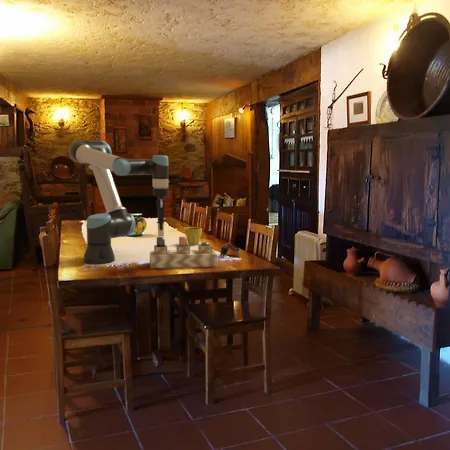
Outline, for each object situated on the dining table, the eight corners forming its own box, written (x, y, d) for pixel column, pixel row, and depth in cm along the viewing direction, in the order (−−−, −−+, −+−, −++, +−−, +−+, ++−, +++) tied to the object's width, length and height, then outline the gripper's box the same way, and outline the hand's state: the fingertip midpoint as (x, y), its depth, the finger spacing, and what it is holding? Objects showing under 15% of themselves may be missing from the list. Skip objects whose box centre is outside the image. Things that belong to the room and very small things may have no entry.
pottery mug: (223, 254, 276) (231, 241, 274) (236, 263, 271) (244, 251, 270) (213, 252, 265) (221, 239, 264) (225, 262, 261) (233, 249, 259)
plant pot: (182, 245, 296) (182, 229, 295) (187, 242, 306) (187, 226, 305) (199, 246, 294) (199, 229, 292) (204, 243, 304) (204, 227, 302)
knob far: (201, 252, 245) (201, 243, 245) (200, 250, 249) (200, 242, 248) (209, 252, 246) (209, 243, 245) (208, 250, 250) (208, 242, 249)
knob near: (156, 247, 240) (156, 238, 240) (156, 245, 244) (156, 236, 244) (165, 247, 241) (165, 238, 241) (164, 245, 245) (164, 236, 244)
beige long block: (151, 268, 237) (150, 248, 236) (149, 262, 249) (149, 243, 248) (216, 266, 244) (217, 247, 242) (212, 260, 255) (213, 242, 254)
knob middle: (179, 246, 243) (179, 237, 242) (178, 245, 246) (178, 236, 246) (187, 246, 243) (187, 237, 243) (186, 245, 247) (186, 236, 247)
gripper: (169, 188, 233) (169, 238, 236) (167, 186, 246) (167, 233, 249) (153, 188, 232) (153, 238, 235) (152, 186, 244) (152, 234, 248)
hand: (160, 236), depth 242 cm, fingers closed
